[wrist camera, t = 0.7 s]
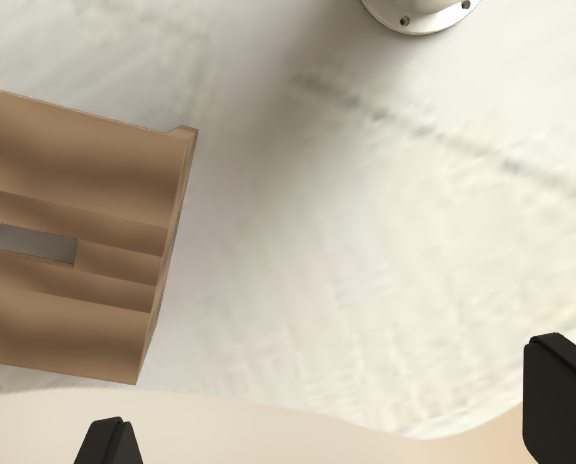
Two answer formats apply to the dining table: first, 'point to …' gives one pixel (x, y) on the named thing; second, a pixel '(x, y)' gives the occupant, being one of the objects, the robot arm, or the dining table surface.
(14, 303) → the keyhole shelf
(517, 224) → the dining table surface
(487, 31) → the dining table surface
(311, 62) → the dining table surface
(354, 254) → the dining table surface
